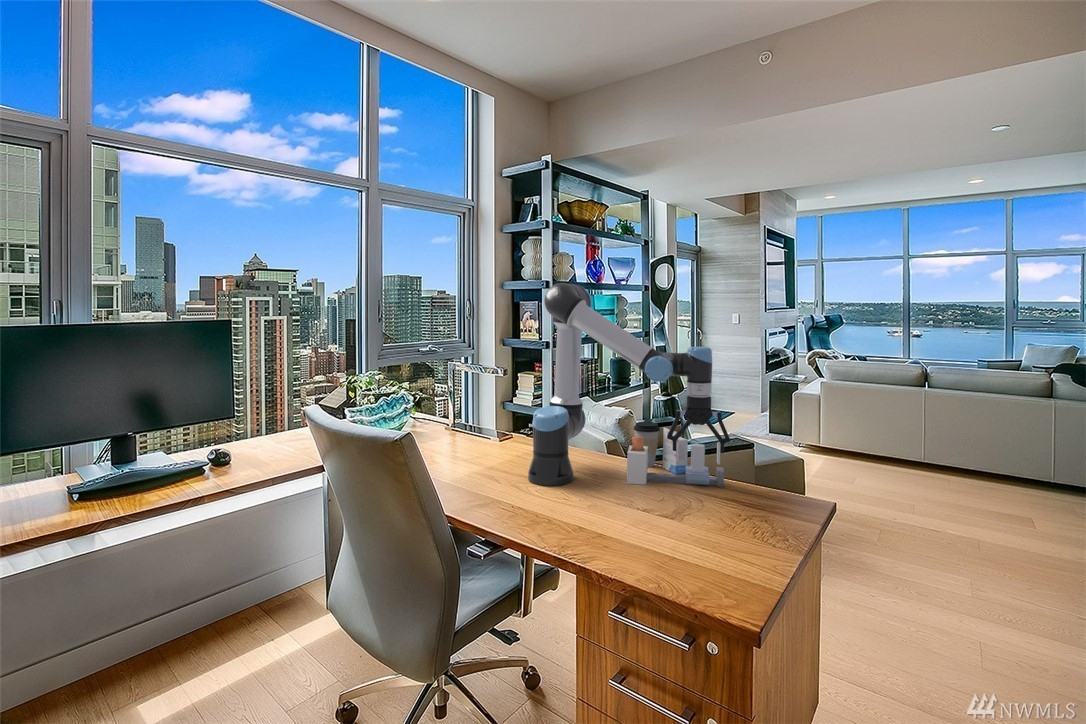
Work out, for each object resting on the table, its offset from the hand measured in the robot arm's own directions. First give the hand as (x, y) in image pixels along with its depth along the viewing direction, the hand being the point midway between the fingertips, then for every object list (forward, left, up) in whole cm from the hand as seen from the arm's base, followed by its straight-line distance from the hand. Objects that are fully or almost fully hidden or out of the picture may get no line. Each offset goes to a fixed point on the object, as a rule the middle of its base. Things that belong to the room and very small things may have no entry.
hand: (697, 462), depth 173 cm
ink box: (-7, +13, -7) cm, 16 cm away
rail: (-5, 0, -7) cm, 9 cm away
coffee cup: (-17, +18, -7) cm, 26 cm away
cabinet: (-19, 0, -7) cm, 20 cm away
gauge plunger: (-19, 0, +3) cm, 19 cm away
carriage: (0, 0, -7) cm, 7 cm away
